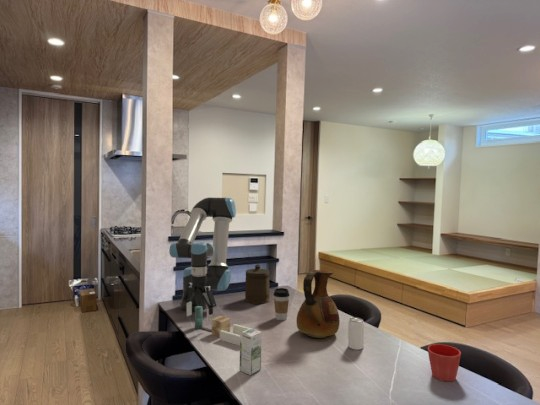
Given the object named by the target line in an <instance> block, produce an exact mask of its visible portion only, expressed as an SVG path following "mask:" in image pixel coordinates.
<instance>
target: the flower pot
mask: <svg viewBox="0 0 540 405" xmlns="http://www.w3.org/2000/svg"><path fill="white" fill-rule="evenodd" d="M427 354H428V359H429V364H430V371H431V375H432V377H434V379H436V380H438V381H441V382H454V381H456V379H457V375H458V370H459V367H460V360H461V356H462V352H461V350H459V349H458V348H457V347H454V346H451V345H447V344H443V343H442V344H441V343H439V344H437V343H434V344H430V345H429V346H428V347H427Z"/></svg>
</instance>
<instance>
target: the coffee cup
mask: <svg viewBox="0 0 540 405" xmlns="http://www.w3.org/2000/svg"><path fill="white" fill-rule="evenodd" d="M273 297H274V299H273V302H274V312H275V313H274V314H275V320H277V321H285V320H287V319H288V312H289V311H288V310H289V301H290V299H289V298H290V292H289V289H287V288H286V287H285V288H283V287H280V288H279V287H278V288H276V289H274V292H273Z"/></svg>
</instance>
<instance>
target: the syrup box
mask: <svg viewBox="0 0 540 405" xmlns="http://www.w3.org/2000/svg"><path fill="white" fill-rule="evenodd" d="M249 328H250V329H248V330H246V331H243V332H241V333H240V346H239V372H242V373H243V374H247V375H249V376H252V375H254V374H256V373H258V372H259V371H260V370H261V369H262V334H263V333H262V332H261V331H260V330H259V329H256V330H255V328H252V327H249ZM251 328H252V329H251ZM258 330H259V331H258Z"/></svg>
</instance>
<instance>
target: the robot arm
mask: <svg viewBox="0 0 540 405" xmlns="http://www.w3.org/2000/svg"><path fill="white" fill-rule="evenodd" d="M236 212H237V209H236V204H235V201H234V199H233V198H232V197H206V198H205V197H204V198H203V199H201V200H200V201H198V202H197V203H196V204H195V205H194V206H193V207H192V209H191V211H190V216H189V218H188V220H187V222H186V225H185V227H184V229H183V231H182V232H181V235H180V237H179V239H178V241H177V242H174V243H171V244H170V246H169V252H168V253H169V256H170V257H171V258H175V259H190V263H191V264H190V266H188V267H186V268H184V270H183V273H182V297H181V300H180V303H179V308H180V310H182V311H186V317H189V316H192V315H193V313H192V312H195V307H196V306H202V307H203V310H204V309H206V322H207V323H209V322H212V319H213V313H214V308H215V307H217V302H216V300H215V297H214V294H213V291H225V290H227V289H228V288H229V285H230V283H231V280H232V279H231V278H232V271H231V269H229V265H228V264H227V254H228V244H229V243H228V242H229V241H228V240H229V233H230V232H229V231H230V230H229V229H230V223H231V222H232V221H233V218H235V217H236V215H237V214H236ZM209 217H210V218H212V220H213V222H214V224H213V225H214V228H213V236H212V243H210V242H200V241H198V242H195V240H196V237H197V235H198V234H199V230H200V228H201V226H202V224H203V222H204V221H205V220H207V218H209ZM208 259H210V263H209V264H208Z"/></svg>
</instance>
